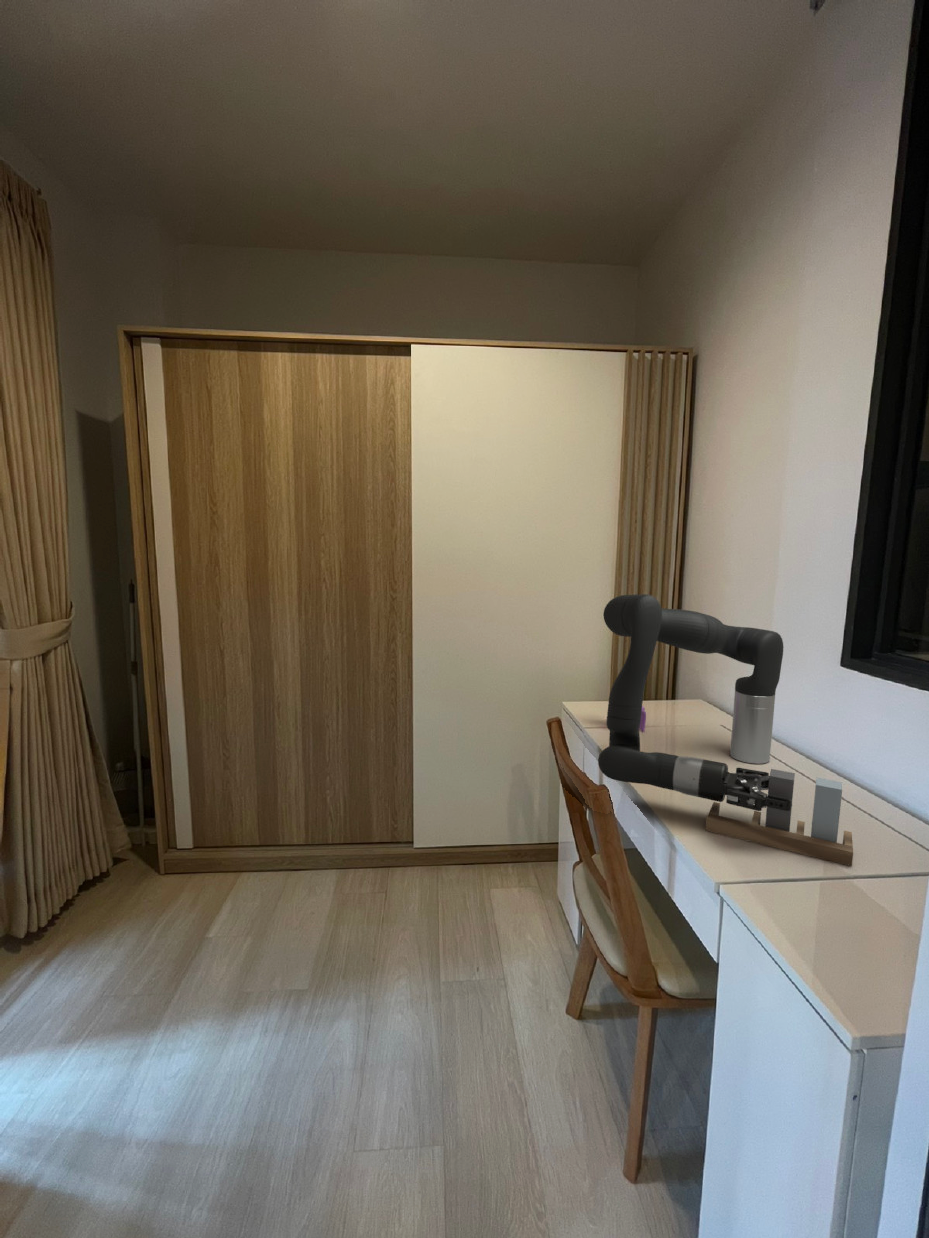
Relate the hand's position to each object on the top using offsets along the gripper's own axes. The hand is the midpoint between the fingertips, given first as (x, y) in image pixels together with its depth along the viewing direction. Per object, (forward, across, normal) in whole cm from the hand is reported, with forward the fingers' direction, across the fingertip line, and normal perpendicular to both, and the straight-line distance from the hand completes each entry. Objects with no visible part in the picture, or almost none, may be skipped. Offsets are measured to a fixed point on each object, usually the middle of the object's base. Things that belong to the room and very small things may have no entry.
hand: (791, 796), depth 112 cm
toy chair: (-44, +48, +8) cm, 65 cm away
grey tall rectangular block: (-2, 0, +8) cm, 8 cm away
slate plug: (+6, 0, +8) cm, 10 cm away
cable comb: (-2, -2, +8) cm, 9 cm away
